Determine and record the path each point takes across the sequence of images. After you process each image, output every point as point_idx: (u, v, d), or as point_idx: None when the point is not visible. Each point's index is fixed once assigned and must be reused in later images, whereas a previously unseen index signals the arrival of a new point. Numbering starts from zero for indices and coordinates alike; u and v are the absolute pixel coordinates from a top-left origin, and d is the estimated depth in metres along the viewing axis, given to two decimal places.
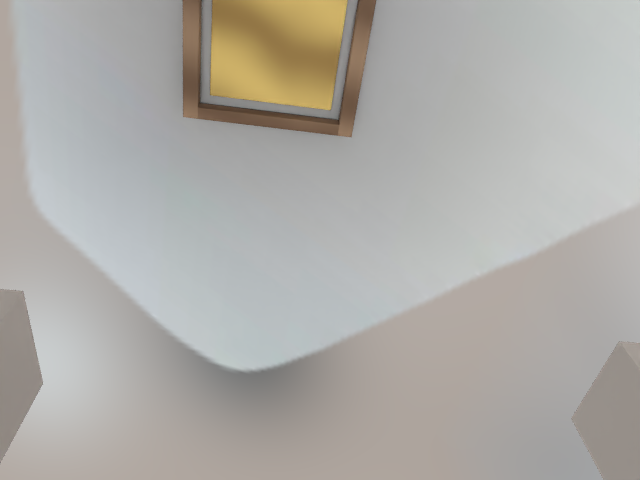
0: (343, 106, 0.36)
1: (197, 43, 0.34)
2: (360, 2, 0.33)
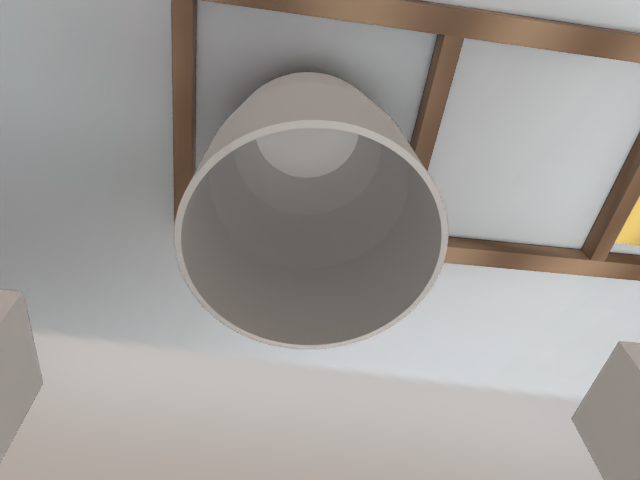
0: None
1: None
2: None
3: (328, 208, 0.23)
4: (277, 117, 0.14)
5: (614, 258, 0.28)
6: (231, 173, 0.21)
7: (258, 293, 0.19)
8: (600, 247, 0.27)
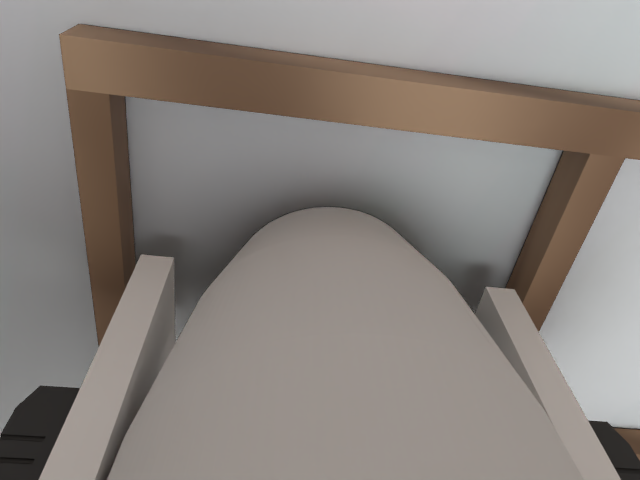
0: None
1: None
2: None
3: None
4: None
5: None
6: None
7: None
8: None
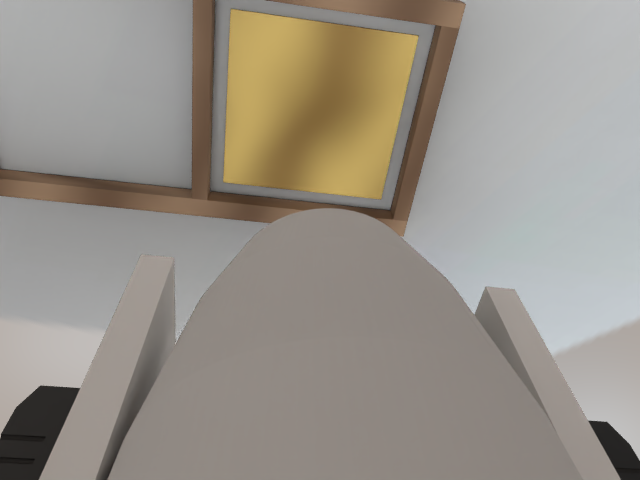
0: (411, 19, 0.23)
1: None
2: None
3: None
4: None
5: (224, 198, 0.27)
6: None
7: None
8: (195, 184, 0.26)
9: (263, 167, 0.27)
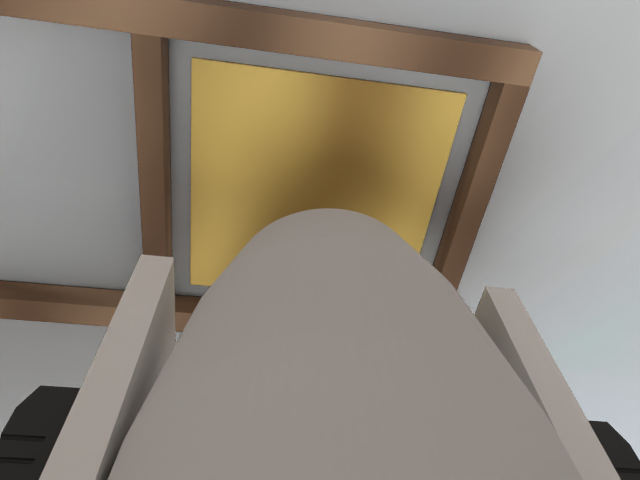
0: (461, 74, 0.15)
1: None
2: (229, 44, 0.14)
3: None
4: None
5: (191, 305, 0.20)
6: None
7: None
8: None
9: None
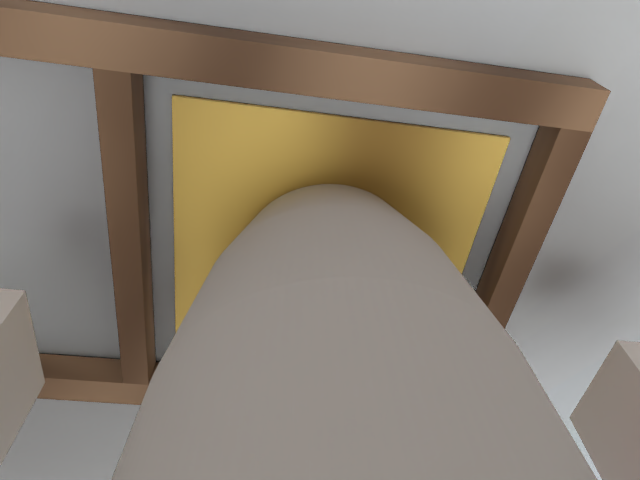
0: (507, 118, 0.12)
1: None
2: (217, 81, 0.11)
3: None
4: (285, 477, 0.05)
5: None
6: None
7: None
8: (127, 365, 0.16)
9: None
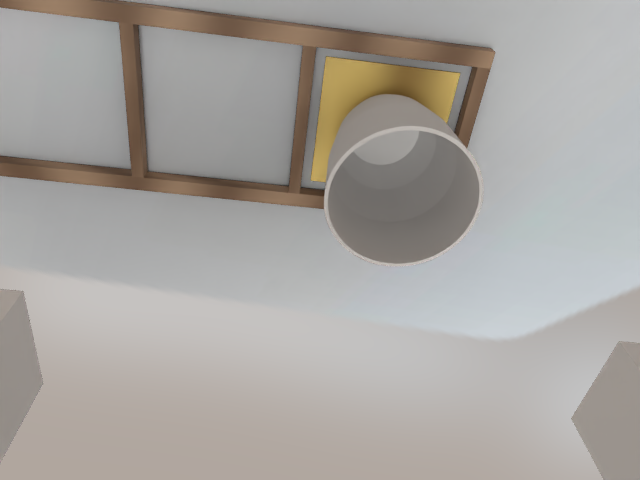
0: (456, 63, 0.32)
1: None
2: (347, 49, 0.31)
3: (398, 185, 0.34)
4: (388, 124, 0.25)
5: (311, 192, 0.37)
6: None
7: (360, 234, 0.30)
8: (292, 182, 0.36)
9: None
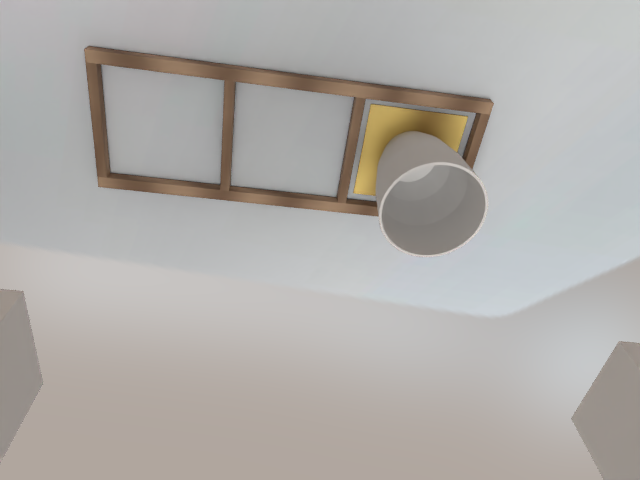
0: (465, 110, 0.44)
1: None
2: (387, 100, 0.43)
3: (421, 197, 0.46)
4: (425, 160, 0.37)
5: (354, 202, 0.48)
6: None
7: (399, 234, 0.42)
8: (340, 194, 0.48)
9: None
